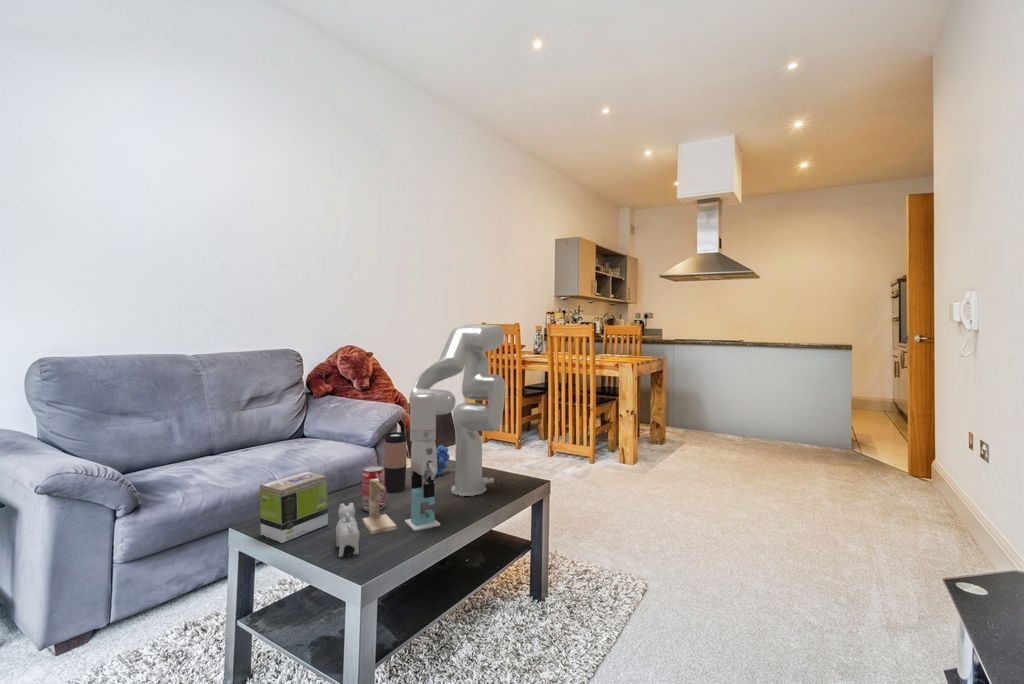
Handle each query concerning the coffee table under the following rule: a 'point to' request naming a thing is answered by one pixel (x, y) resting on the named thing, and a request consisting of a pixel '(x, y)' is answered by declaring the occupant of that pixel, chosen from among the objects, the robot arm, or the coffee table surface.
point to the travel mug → (395, 461)
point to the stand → (377, 510)
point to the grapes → (442, 458)
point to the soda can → (367, 474)
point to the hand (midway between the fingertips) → (422, 492)
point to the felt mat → (423, 526)
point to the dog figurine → (347, 529)
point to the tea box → (293, 506)
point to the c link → (415, 508)
